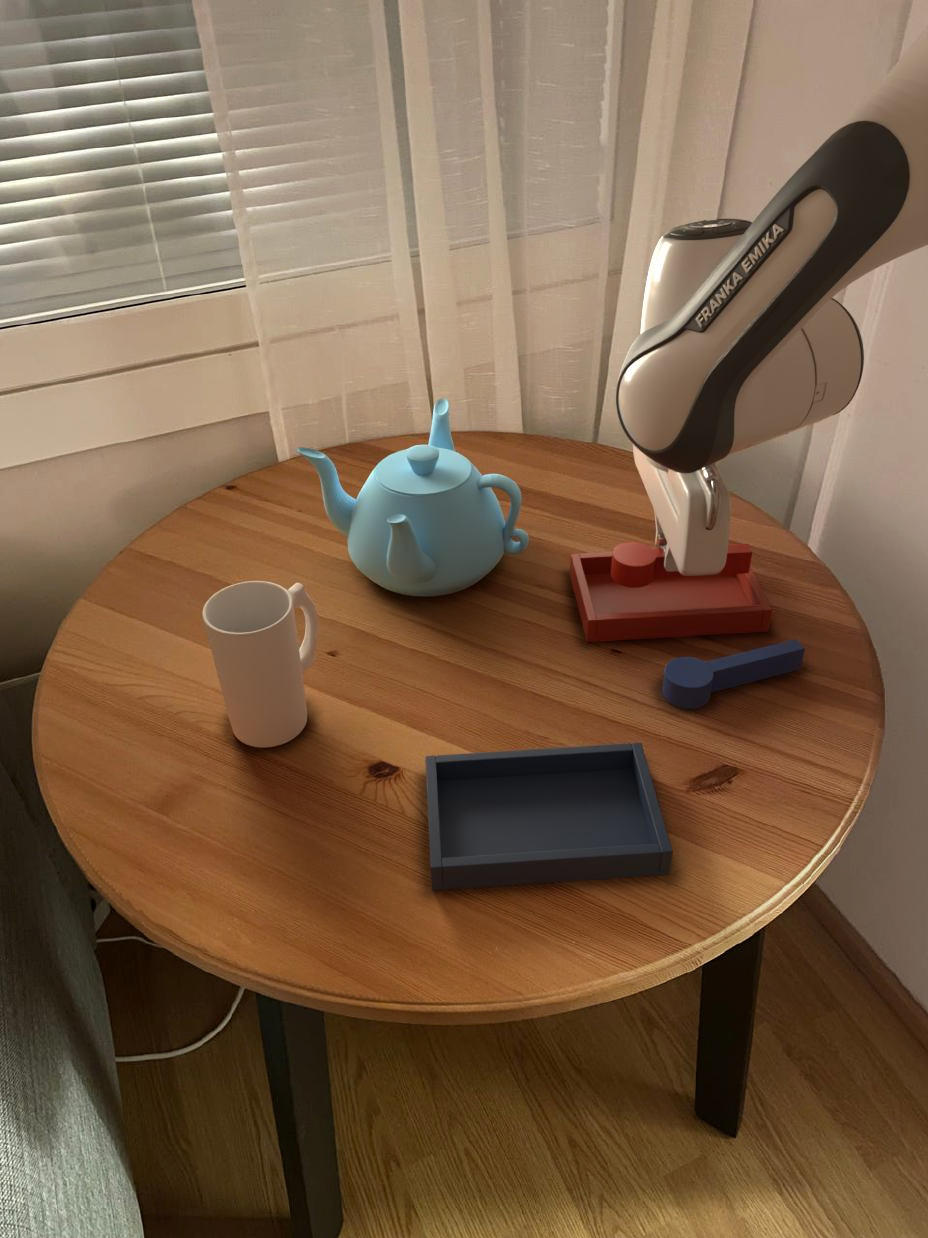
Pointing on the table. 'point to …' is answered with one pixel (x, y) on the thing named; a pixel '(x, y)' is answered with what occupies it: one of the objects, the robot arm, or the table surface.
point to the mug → (262, 658)
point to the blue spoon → (726, 672)
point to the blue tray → (543, 817)
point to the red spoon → (645, 563)
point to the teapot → (424, 516)
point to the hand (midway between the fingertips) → (669, 558)
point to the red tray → (665, 603)
